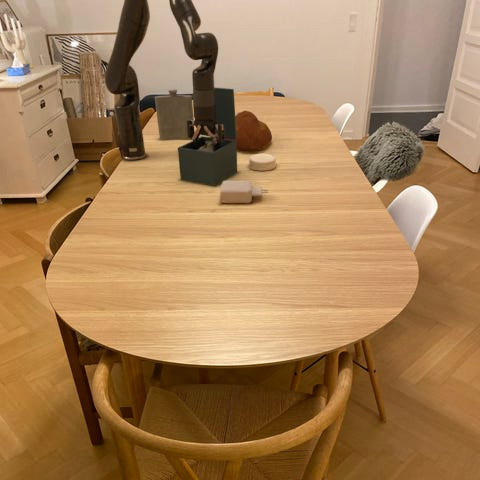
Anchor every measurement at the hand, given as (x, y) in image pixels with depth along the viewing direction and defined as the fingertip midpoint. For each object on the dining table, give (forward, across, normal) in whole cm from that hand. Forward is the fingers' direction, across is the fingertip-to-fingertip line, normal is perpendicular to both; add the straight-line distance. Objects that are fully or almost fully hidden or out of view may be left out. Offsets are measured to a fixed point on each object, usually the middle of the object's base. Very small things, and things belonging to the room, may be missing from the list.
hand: (206, 152), depth 166 cm
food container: (+7, -2, 0) cm, 8 cm away
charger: (+8, -23, +13) cm, 27 cm away
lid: (-12, 0, -7) cm, 14 cm away
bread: (+9, +7, -42) cm, 44 cm away
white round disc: (+8, -14, -17) cm, 23 cm away
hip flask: (+9, +39, -35) cm, 53 cm away
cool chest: (+8, 0, 0) cm, 8 cm away
